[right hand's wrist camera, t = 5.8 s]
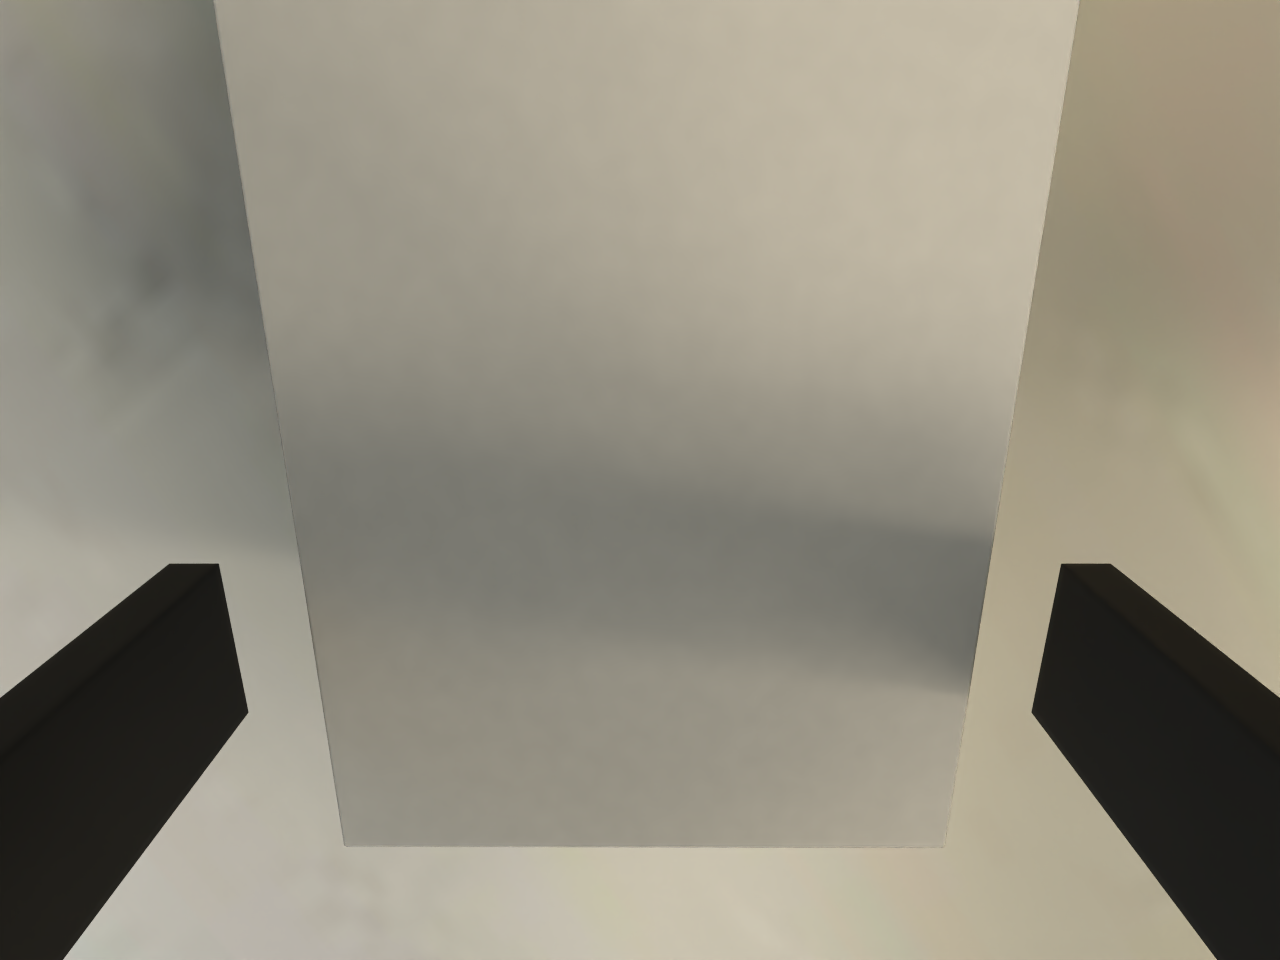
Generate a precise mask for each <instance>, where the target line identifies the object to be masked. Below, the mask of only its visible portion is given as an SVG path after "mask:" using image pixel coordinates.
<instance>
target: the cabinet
mask: <svg viewBox="0 0 1280 960" xmlns="http://www.w3.org/2000/svg"><path fill="white" fill-rule="evenodd" d="M213 3H214V10H215V16H216V23H217V29H218V36H219V42H220V49H221V55H222V61H223V68H224V74H225V81H226V87H227V94H228V100H229V107H230V113H231V119H232V126H233V132H234V139H235V145H236V152H237V158H238V164H239V171H240V177H241V184H242V190H243V197H244V203H245V210H246V216H247V222H248V229H249V235H250V242H251V248H252V255H253V261H254V267H255V274H256V280H257V287H258V293H259V300H260V306H261V313H262V319H263V325H264V332H265V338H266V345H267V351H268V358H269V364H270V371H271V377H272V383H273V390H274V396H275V403H276V409H277V416H278V422H279V428H280V435H281V441H282V448H283V454H284V461H285V467H286V474H287V480H288V486H289V493H290V499H291V506H292V512H293V519H294V525H295V531H296V538H297V544H298V551H299V557H300V564H301V570H302V577H303V583H304V589H305V596H306V602H307V609H308V615H309V622H310V628H311V635H312V641H313V647H314V654H315V660H316V667H317V673H318V680H319V686H320V692H321V699H322V705H323V712H324V718H325V725H326V731H327V738H328V744H329V750H330V757H331V763H332V770H333V776H334V783H335V789H336V795H337V802H338V808H339V815H340V821H341V828H342V834H343V841H344V845H345V846H347V847H731V848H943V847H944V846H945V840H946V834H947V828H948V822H949V815H950V809H951V803H952V797H953V790H954V784H955V778H956V772H957V765H958V759H959V753H960V747H961V740H962V734H963V728H964V722H965V715H966V709H967V703H968V697H969V690H970V684H971V678H972V672H973V665H974V659H975V653H976V647H977V640H978V634H979V628H980V622H981V615H982V609H983V603H984V597H985V590H986V584H987V578H988V572H989V565H990V559H991V553H992V547H993V540H994V534H995V528H996V522H997V515H998V509H999V503H1000V497H1001V490H1002V484H1003V478H1004V472H1005V466H1006V459H1007V453H1008V447H1009V441H1010V434H1011V428H1012V422H1013V416H1014V409H1015V403H1016V397H1017V391H1018V384H1019V378H1020V372H1021V366H1022V359H1023V353H1024V347H1025V341H1026V334H1027V328H1028V322H1029V316H1030V309H1031V303H1032V297H1033V291H1034V284H1035V278H1036V272H1037V266H1038V259H1039V253H1040V247H1041V241H1042V234H1043V228H1044V222H1045V216H1046V209H1047V203H1048V197H1049V191H1050V184H1051V178H1052V172H1053V166H1054V159H1055V153H1056V147H1057V141H1058V134H1059V128H1060V122H1061V116H1062V109H1063V103H1064V97H1065V91H1066V84H1067V78H1068V72H1069V66H1070V59H1071V53H1072V47H1073V41H1074V34H1075V28H1076V22H1077V16H1078V9H1079V3H1080V0H213Z"/></svg>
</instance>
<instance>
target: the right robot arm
mask: <svg viewBox="0 0 1280 960" xmlns="http://www.w3.org/2000/svg"><path fill="white" fill-rule="evenodd" d="M247 714H248V708H247V703H246V698H245V693H244V688H243V683H242V678H241V673H240V668H239V663H238V658H237V653H236V648H235V643H234V638H233V633H232V628H231V623H230V618H229V613H228V608H227V603H226V598H225V593H224V588H223V583H222V578H221V573H220V568H219V564H169V565H167V566H166V567H165V568H163V569H162V570H161V571H160V572H158V573H157V574H156V575H155V576H153V577H152V578H151V579H150V580H148V581H147V582H146V583H145V584H143V585H142V586H141V587H140V588H138V589H137V590H136V591H134V592H133V593H132V594H131V595H129V596H128V597H127V598H126V599H124V600H123V601H122V602H121V603H119V604H118V605H117V606H116V607H114V608H113V609H112V610H111V611H109V612H108V613H107V614H105V615H104V616H103V617H102V618H100V619H99V620H98V621H97V622H95V623H94V624H93V625H92V626H90V627H89V628H88V629H87V630H85V631H84V632H83V633H82V634H80V635H79V636H78V637H76V638H75V639H74V640H73V641H71V642H70V643H69V644H68V645H66V646H65V647H64V648H63V649H61V650H60V651H59V652H58V653H56V654H55V655H54V656H53V657H51V658H50V659H49V660H47V661H46V662H45V663H44V664H42V665H41V666H40V667H39V668H37V669H36V670H35V671H34V672H32V673H31V674H30V675H29V676H27V677H26V678H25V679H24V680H22V681H21V682H20V683H18V684H17V685H16V686H15V687H13V688H12V689H11V690H10V691H8V692H7V693H6V694H5V695H3V696H2V697H1V698H0V960H63V959H64V958H65V956H66V955H67V954H68V952H69V951H70V950H71V948H72V947H73V946H74V944H75V943H76V942H77V940H78V939H79V938H80V936H81V935H82V934H83V932H84V931H85V930H86V928H87V927H88V926H89V924H90V923H91V922H92V920H93V919H94V918H95V916H96V915H97V914H98V912H99V911H100V910H101V908H102V907H103V906H104V904H105V903H106V902H107V900H108V899H109V898H110V896H111V895H112V894H113V892H114V891H115V890H116V888H117V887H118V886H119V884H120V883H121V882H122V880H123V879H124V878H125V876H126V875H127V874H128V872H129V871H130V870H131V868H132V867H133V866H134V864H135V863H136V862H137V860H138V859H139V858H140V856H141V855H142V854H143V852H144V851H145V850H146V848H147V847H148V846H149V844H150V843H151V842H152V840H153V839H154V838H155V836H156V835H157V834H158V832H159V831H160V830H161V828H162V827H163V826H164V824H165V823H166V822H167V820H168V819H169V818H170V816H171V815H172V814H173V812H174V811H175V810H176V808H177V807H178V806H179V804H180V803H181V802H182V800H183V799H184V798H185V796H186V795H187V794H188V792H189V791H190V790H191V788H192V787H193V786H194V784H195V783H196V782H197V780H198V779H199V778H200V776H201V775H202V774H203V772H204V771H205V770H206V768H207V767H208V766H209V764H210V763H211V762H212V760H213V759H214V758H215V756H216V755H217V754H218V752H219V751H220V750H221V748H222V747H223V746H224V744H225V743H226V742H227V740H228V739H229V738H230V736H231V735H232V734H233V732H234V731H235V730H236V728H237V727H238V726H239V724H240V723H241V722H242V720H243V719H244V718H245V716H246V715H247ZM1032 714H1033V715H1034V716H1035V718H1036V719H1037V720H1038V722H1039V723H1040V724H1041V726H1042V727H1043V728H1044V730H1045V731H1046V732H1047V734H1048V735H1049V736H1050V738H1051V739H1052V740H1053V742H1054V743H1055V744H1056V746H1057V747H1058V748H1059V750H1060V751H1061V752H1062V754H1063V755H1064V756H1065V758H1066V759H1067V760H1068V762H1069V763H1070V764H1071V766H1072V767H1073V768H1074V770H1075V771H1076V772H1077V774H1078V775H1079V776H1080V778H1081V779H1082V780H1083V782H1084V783H1085V784H1086V786H1087V787H1088V788H1089V790H1090V791H1091V792H1092V794H1093V795H1094V796H1095V798H1096V799H1097V800H1098V802H1099V803H1100V804H1101V806H1102V807H1103V808H1104V810H1105V811H1106V812H1107V814H1108V815H1109V816H1110V818H1111V819H1112V820H1113V822H1114V823H1115V824H1116V826H1117V827H1118V828H1119V830H1120V831H1121V832H1122V834H1123V835H1124V836H1125V838H1126V839H1127V840H1128V842H1129V843H1130V844H1131V846H1132V847H1133V848H1134V850H1135V851H1136V852H1137V854H1138V855H1139V856H1140V858H1141V859H1142V860H1143V862H1144V863H1145V864H1146V866H1147V867H1148V868H1149V870H1150V871H1151V872H1152V874H1153V875H1154V876H1155V878H1156V879H1157V880H1158V882H1159V883H1160V884H1161V886H1162V887H1163V888H1164V890H1165V891H1166V892H1167V894H1168V895H1169V896H1170V898H1171V899H1172V900H1173V902H1174V903H1175V904H1176V906H1177V907H1178V908H1179V910H1180V911H1181V912H1182V914H1183V915H1184V916H1185V918H1186V919H1187V920H1188V922H1189V923H1190V924H1191V926H1192V927H1193V928H1194V930H1195V931H1196V932H1197V934H1198V935H1199V936H1200V938H1201V939H1202V940H1203V942H1204V943H1205V944H1206V946H1207V947H1208V948H1209V950H1210V951H1211V952H1212V954H1213V955H1214V956H1215V958H1216V959H1217V960H1280V698H1279V697H1278V696H1277V695H1275V694H1274V693H1273V692H1272V691H1270V690H1269V689H1268V688H1267V687H1265V686H1264V685H1263V684H1261V683H1260V682H1259V681H1258V680H1256V679H1255V678H1254V677H1253V676H1251V675H1250V674H1249V673H1248V672H1246V671H1245V670H1244V669H1243V668H1241V667H1240V666H1239V665H1238V664H1236V663H1235V662H1234V661H1233V660H1231V659H1230V658H1229V657H1227V656H1226V655H1225V654H1224V653H1222V652H1221V651H1220V650H1219V649H1217V648H1216V647H1215V646H1214V645H1212V644H1211V643H1210V642H1209V641H1207V640H1206V639H1205V638H1204V637H1202V636H1201V635H1200V634H1198V633H1197V632H1196V631H1195V630H1193V629H1192V628H1191V627H1190V626H1188V625H1187V624H1186V623H1185V622H1183V621H1182V620H1181V619H1180V618H1178V617H1177V616H1176V615H1175V614H1173V613H1172V612H1171V611H1169V610H1168V609H1167V608H1166V607H1164V606H1163V605H1162V604H1161V603H1159V602H1158V601H1157V600H1156V599H1154V598H1153V597H1152V596H1151V595H1149V594H1148V593H1147V592H1146V591H1144V590H1143V589H1142V588H1140V587H1139V586H1138V585H1137V584H1135V583H1134V582H1133V581H1132V580H1130V579H1129V578H1128V577H1127V576H1125V575H1124V574H1123V573H1122V572H1120V571H1119V570H1118V569H1117V568H1115V567H1114V566H1113V565H1111V564H1061V568H1060V573H1059V578H1058V583H1057V588H1056V593H1055V598H1054V603H1053V608H1052V613H1051V618H1050V623H1049V628H1048V633H1047V638H1046V643H1045V648H1044V653H1043V658H1042V663H1041V668H1040V673H1039V678H1038V683H1037V688H1036V693H1035V698H1034V703H1033V708H1032Z"/></svg>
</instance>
